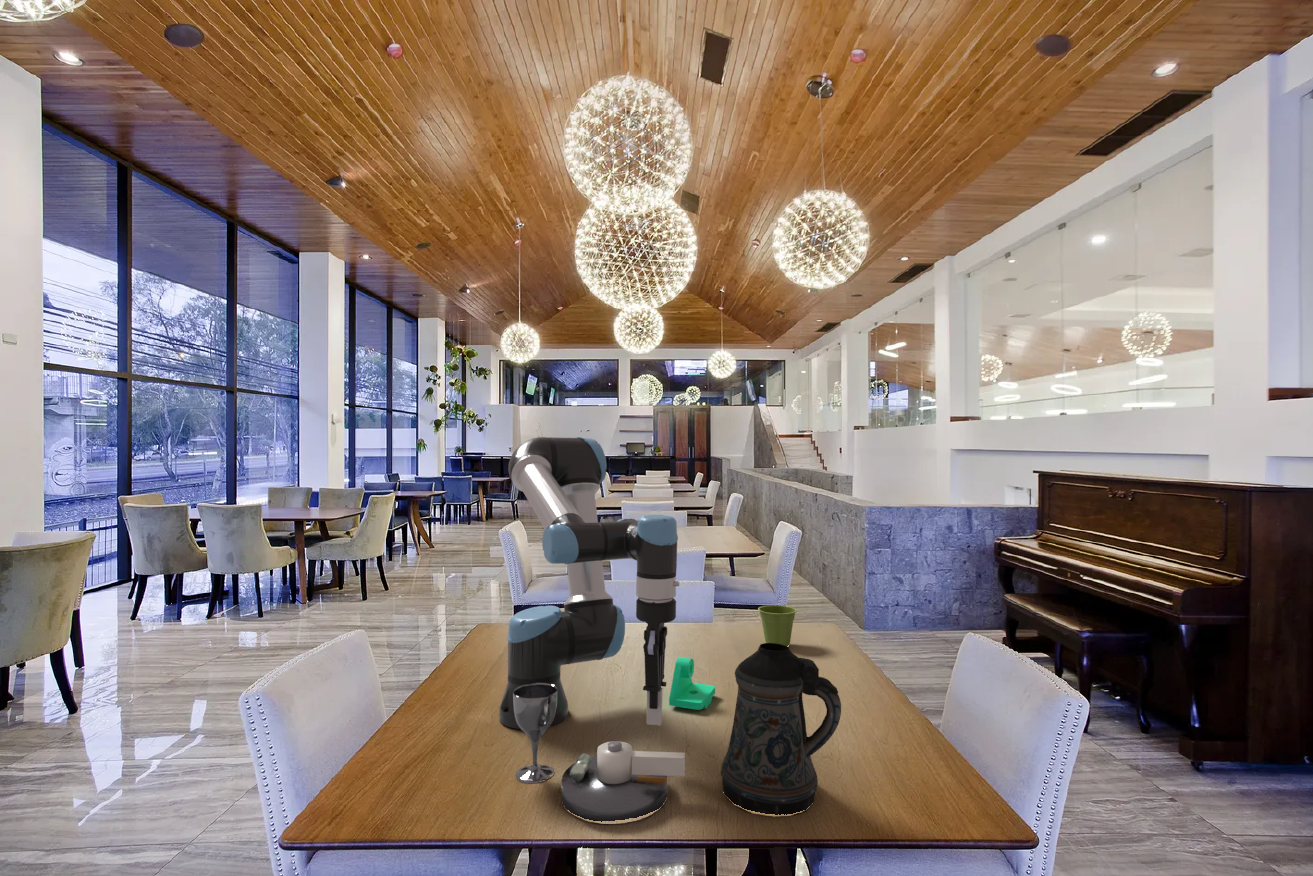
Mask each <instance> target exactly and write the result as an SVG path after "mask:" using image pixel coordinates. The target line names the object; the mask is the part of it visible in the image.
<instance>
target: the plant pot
mask: <svg viewBox="0 0 1313 876" xmlns="http://www.w3.org/2000/svg"><path fill="white" fill-rule="evenodd" d="M757 610H758V611H759V615H760V619H761V623H762V629H763V630H762V631H763V635H764V641H765V642H766V643H776V644H781V645H784V646H788V645H789V644H790V645H791V639H792V633H793V632H792V631H793V625H794V620H795V616H796V613H797V612H798V610H797V608H795V607H792V606H787V605H776V604H775V605H771V604H770V605H762V606H759V607H758V608H757ZM765 642H764V643H765Z"/></svg>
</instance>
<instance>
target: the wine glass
mask: <svg viewBox="0 0 1313 876" xmlns="http://www.w3.org/2000/svg"><path fill="white" fill-rule="evenodd" d="M556 706H557V687H556V686H554V685H552V684H547V683H531V684H525V685H522V686H519V687H517V688H516V689H515V690H514V692H513V707H514V714H515V718H516V722H517V724H518V726H519V727H520V728H521V729H520V730H521V731H522V732H523V733H524V734H525V735H526V736H527V737H528V739H529V741H530V744H531V750H532V751H531V752H532V764H533V765H532V764H528V765H524V766H522V767H520V768H519V769H518V770H516V771H515V773H514V778H515V777H516V778H515V779H516V780H517V781H518V782H520V783H524V784H532V785H533V784H539V783H538V782H540V781H543V780H546V781H548V780H547V778H549V777H550V775H552V774H553V773H554V774H555V769H554V768H553V767H552V766H550V765H548V764H545V765H541V764H542V763H538V752H539V751H538V750H539V743H540V740H541V738H542V736H543V735H544V734H545V733H546V731H547V730H548V729H549V728H550V727H551V726H550V725H551V723H552V722H553V720H554V716H555V712H556ZM549 726H550V727H549ZM547 765H548V766H547ZM540 783H541V782H540Z"/></svg>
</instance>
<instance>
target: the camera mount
mask: <svg viewBox="0 0 1313 876" xmlns="http://www.w3.org/2000/svg"><path fill="white" fill-rule="evenodd" d="M694 671H695V661H694V659H693V658H689V657H682V656H678V657H677V658H676V661H675V666H674V671H673V675H672V676H673V677H672V680H671V681H672V683H671V688H670V693H669V698H668V700H669V701H668V703H669V706H671V707H677V708H684V709H691V710H703V709H705V708H706V709H707V708H708V707H707V706H709V705H710V704H711V703H712V702H711V701H713V697H714V695H715V694H716V686H714V685H712V684H704V683H696V682H693V680H692V678H693V676H694Z"/></svg>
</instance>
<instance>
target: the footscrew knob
mask: <svg viewBox="0 0 1313 876" xmlns="http://www.w3.org/2000/svg"><path fill="white" fill-rule="evenodd" d="M596 751H597V752H596V755H597V777H598V779H599V780H600V781H602V782H604V783H608V784H619V783H624V782H626V781H628V780H629V779H631V777H632V774H634V775H662V776H667V777H685V774H686V752H677V751H676V752H673V751H672V752H671V751H669V752H668V751H646V750H645V751H644V750H643V751H641V750H639V751H638V750H633V746H632V745H631V744H630V743H627V742H625V741H618V740H617V741H616V740H615V741H614V740H613V741H607V742H606V741H605V742H604V743H602V744H600V745H598V747H597V750H596Z"/></svg>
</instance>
